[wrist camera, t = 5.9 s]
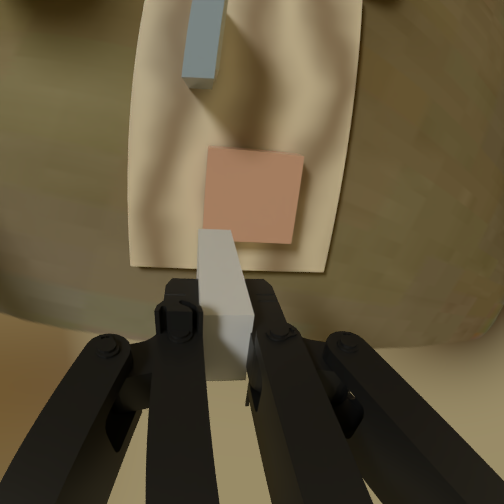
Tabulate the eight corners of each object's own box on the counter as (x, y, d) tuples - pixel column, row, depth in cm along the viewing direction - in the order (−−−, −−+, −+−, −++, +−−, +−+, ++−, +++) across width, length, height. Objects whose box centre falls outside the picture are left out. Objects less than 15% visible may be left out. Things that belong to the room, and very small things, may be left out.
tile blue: (188, 88, 24) (181, 77, 16) (199, 6, 20) (197, -30, 13) (215, 89, 24) (218, 79, 17) (225, 8, 21) (233, -28, 14)
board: (132, 260, 31) (130, 265, 30) (154, -31, 19) (152, -36, 18) (320, 267, 34) (323, 272, 33) (357, -3, 22) (362, -6, 21)
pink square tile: (202, 240, 27) (291, 243, 29) (208, 147, 24) (304, 156, 25) (202, 230, 29) (285, 234, 31) (208, 145, 26) (297, 153, 27)
